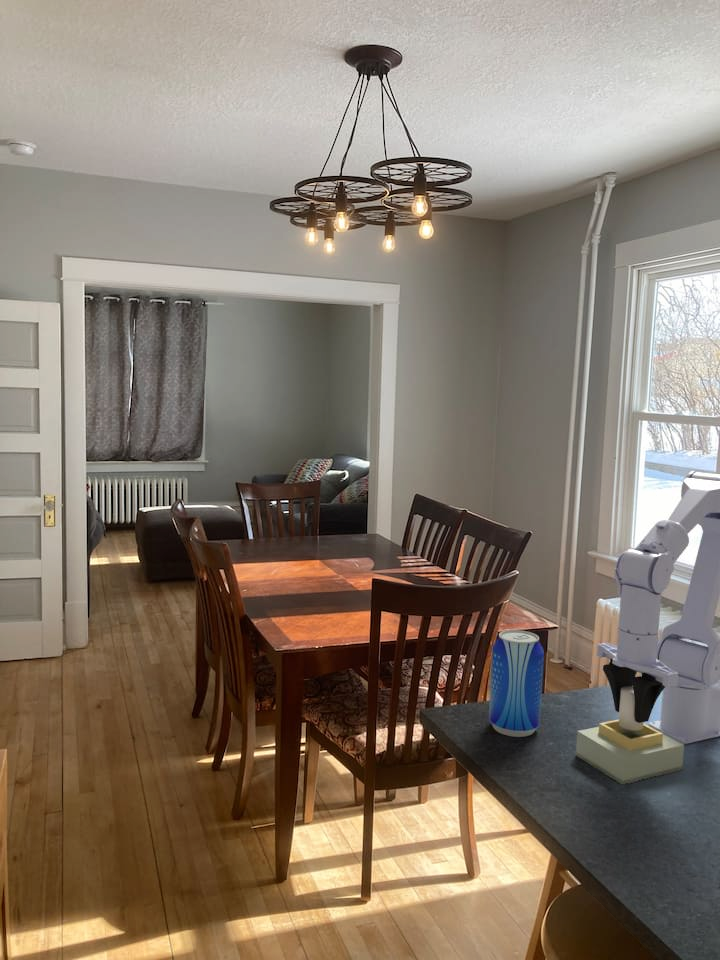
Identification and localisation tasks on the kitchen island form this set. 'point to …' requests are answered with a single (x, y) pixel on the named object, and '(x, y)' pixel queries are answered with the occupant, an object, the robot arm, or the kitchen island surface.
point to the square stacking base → (629, 751)
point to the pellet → (628, 710)
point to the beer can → (516, 683)
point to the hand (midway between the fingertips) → (631, 715)
